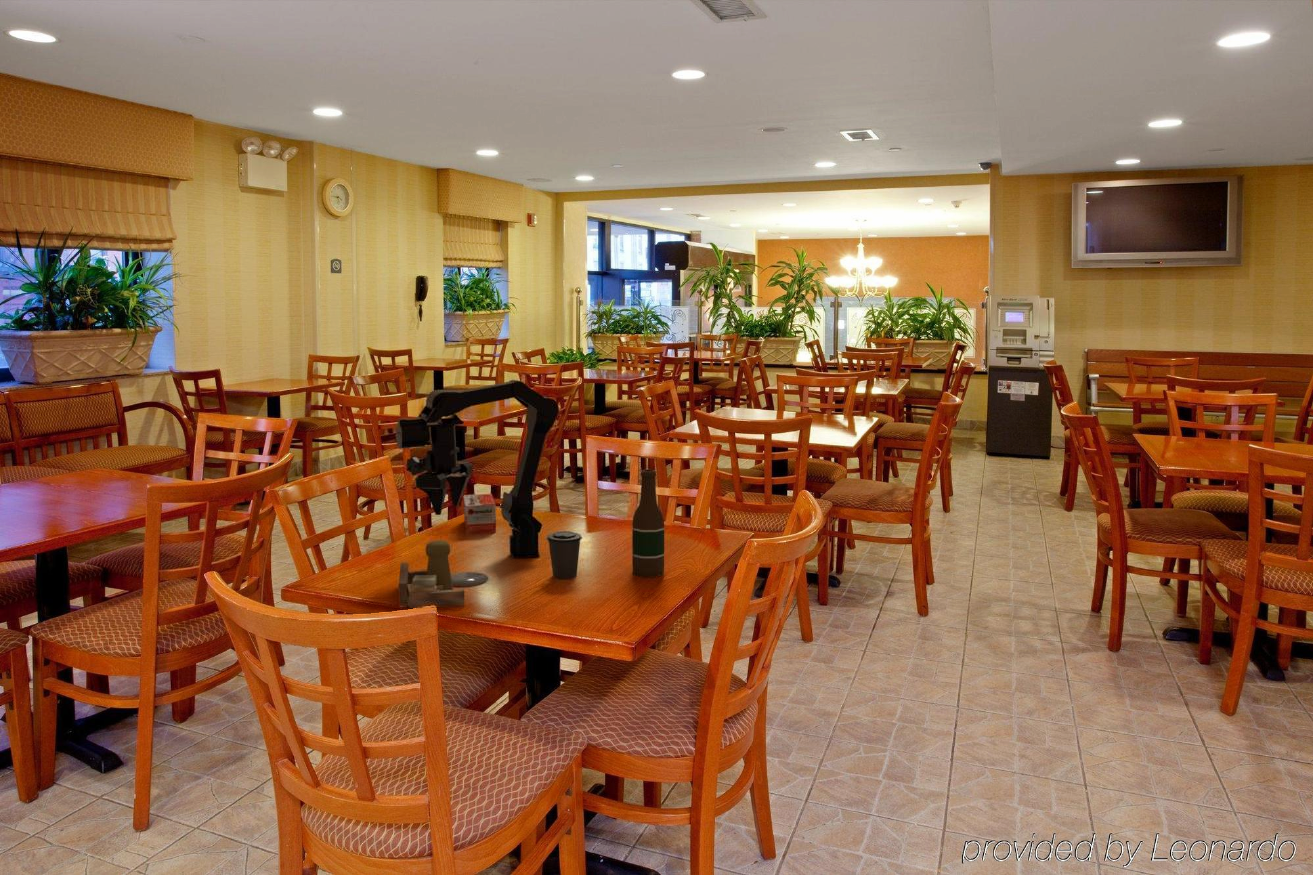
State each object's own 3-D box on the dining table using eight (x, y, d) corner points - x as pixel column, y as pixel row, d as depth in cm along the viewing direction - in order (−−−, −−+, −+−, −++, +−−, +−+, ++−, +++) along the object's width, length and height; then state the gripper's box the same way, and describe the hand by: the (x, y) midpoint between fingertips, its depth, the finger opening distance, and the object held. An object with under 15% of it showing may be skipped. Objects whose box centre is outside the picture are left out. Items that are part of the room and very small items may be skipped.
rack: (461, 580, 214) (461, 558, 213) (464, 605, 197) (464, 580, 196) (401, 584, 211) (400, 561, 210) (399, 609, 194) (398, 584, 193)
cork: (427, 587, 209) (425, 538, 208) (455, 586, 210) (453, 537, 208) (422, 595, 203) (421, 545, 202) (451, 595, 204) (450, 544, 202)
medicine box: (463, 522, 270) (463, 494, 269) (492, 520, 272) (492, 492, 271) (466, 534, 256) (465, 505, 255) (497, 533, 258) (496, 504, 257)
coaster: (486, 572, 220) (486, 570, 220) (489, 585, 211) (489, 583, 211) (442, 575, 218) (442, 573, 218) (442, 588, 208) (442, 586, 208)
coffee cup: (554, 582, 213) (554, 539, 211) (541, 573, 220) (541, 531, 218) (588, 577, 216) (588, 534, 215) (574, 568, 224) (574, 527, 222)
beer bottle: (669, 570, 223) (670, 468, 219) (658, 579, 216) (659, 474, 212) (638, 566, 225) (638, 466, 222) (626, 575, 218) (626, 472, 215)
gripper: (429, 437, 233) (433, 500, 235) (391, 450, 215) (396, 518, 218) (472, 438, 230) (475, 501, 233) (437, 451, 213) (441, 520, 215)
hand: (447, 510), depth 225 cm, fingers open, 9 cm apart
